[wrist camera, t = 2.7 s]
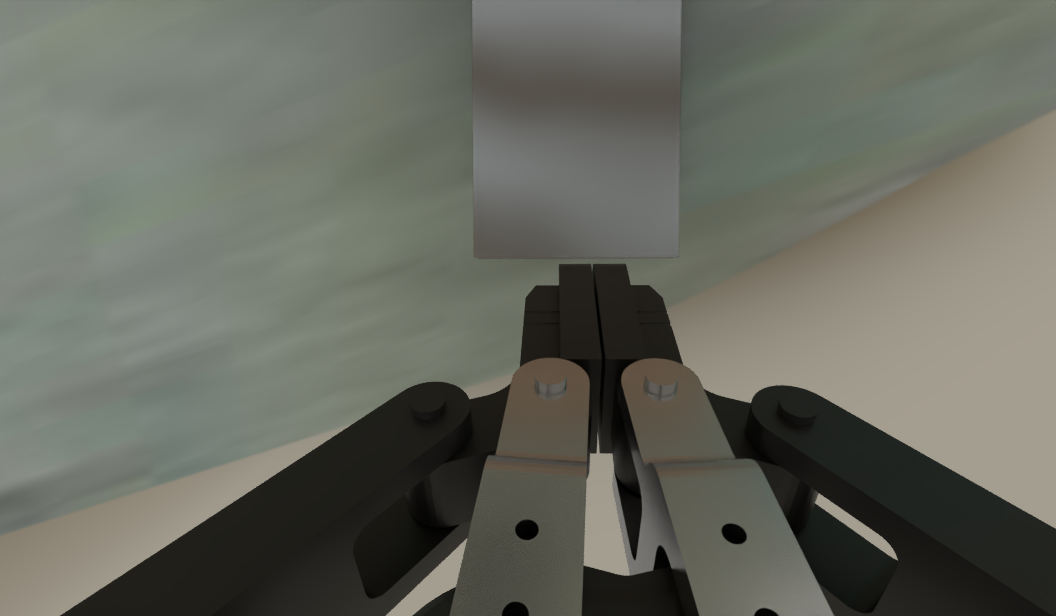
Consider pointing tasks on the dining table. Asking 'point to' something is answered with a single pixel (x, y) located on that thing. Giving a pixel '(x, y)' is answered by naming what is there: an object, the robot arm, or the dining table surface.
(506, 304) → the dining table surface
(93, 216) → the dining table surface
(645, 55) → the grey flat plate
